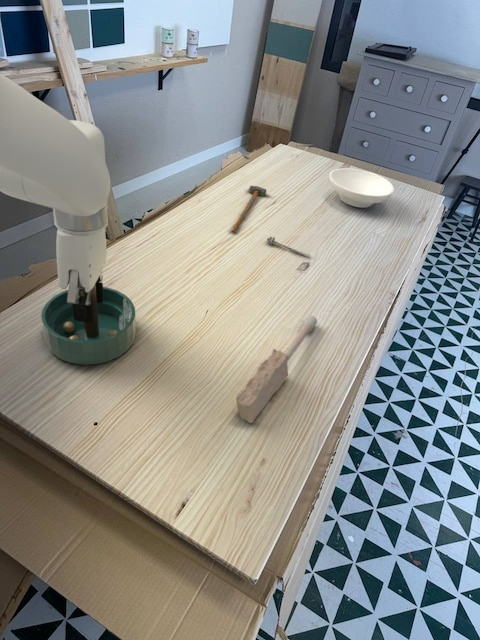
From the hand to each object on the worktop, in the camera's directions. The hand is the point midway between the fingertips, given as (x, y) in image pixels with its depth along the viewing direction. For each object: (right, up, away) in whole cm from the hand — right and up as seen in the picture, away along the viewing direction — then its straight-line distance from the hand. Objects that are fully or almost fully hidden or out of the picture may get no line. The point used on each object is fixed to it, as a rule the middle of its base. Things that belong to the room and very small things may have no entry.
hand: (89, 309), depth 79 cm
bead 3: (+4, -4, +2) cm, 6 cm away
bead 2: (-3, -5, 0) cm, 6 cm away
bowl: (+61, +34, +64) cm, 95 cm away
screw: (+37, +16, +37) cm, 54 cm away
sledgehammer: (+27, +28, +50) cm, 63 cm away
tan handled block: (+33, -10, +5) cm, 34 cm away
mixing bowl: (-1, -5, +4) cm, 6 cm away
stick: (-1, -4, +4) cm, 5 cm away
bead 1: (-4, -3, +3) cm, 6 cm away
